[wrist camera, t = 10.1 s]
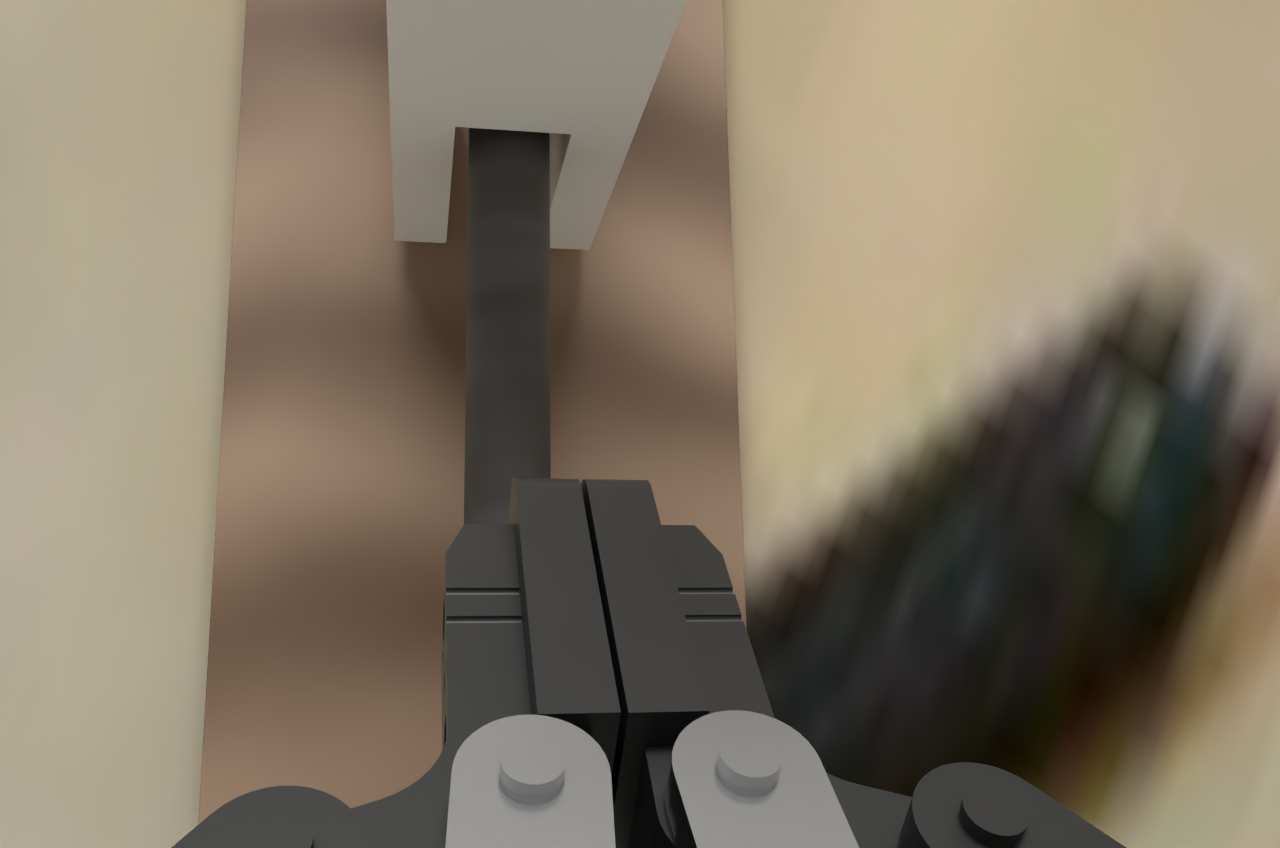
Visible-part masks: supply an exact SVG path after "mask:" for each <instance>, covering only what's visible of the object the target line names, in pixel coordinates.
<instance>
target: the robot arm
mask: <svg viewBox="0 0 1280 848" xmlns="http://www.w3.org/2000/svg"><path fill="white" fill-rule="evenodd" d="M741 615H742V614H741V611H740V608H739V605H738V602H737V599H736V595H735V594H733V586H732V583H731V580H730V577H729V574H728V570H727V567H726V564H725V561H724V558H723V555H722V553H721V552H720V551H719V550H718V549H717V548H716V547H715V546H714V545H713V544H712V543H711V542H710V541H709V540H708V539H707V538H706V536H705V535H704V534H703V533H702V532H701V531H700V530H699V529H698V528H697V527H696V526H695V525H661V522H660V518H659V514H658V510H657V507H656V503H655V499H654V495H653V491H652V488H651V484H650V482H649V481H648V480H611V479H583V480H582V482H581V484H580V481H579V479H556V478H513V479H512V484H511V491H510V504H509V518H508V524H495V523H465V524H464V525H463V527H462V529H461V530H460V532H459V533H458V535H457V536H456V538H455V539H454V541H453V543H452V544H451V546H450V547H449V549H448V550H447V552H446V555H445V581H444V606H443V631H442V656H441V671H442V752H441V754H440V756H439V758H438V759H437V761H436V762H435V763H434V765H433V766H432V767H431V769H430V770H429V771H427V772H426V773H425V774H424V775H423V776H422V777H421V778H420V779H419V780H417V781H416V782H414V783H413V784H412V785H410V786H409V787H407V788H405V789H403V790H401V791H399V792H397V793H396V794H393V795H390V796H388V797H385V798H382V799H380V800H376V801H373V802H370V803H367V804H364V805H360V806H357V807H354V808H351V809H350V808H349V807H348V806H347V805H346V804H345V803H343V802H342V801H341V800H339V799H338V798H336V797H334V796H332V795H330V794H328V793H326V792H324V791H320V790H317V789H314V788H309V787H303V786H275V787H267V788H263V789H259V790H255V791H251V792H249V793H246V794H244V795H241V796H239V797H236V798H235V799H233V800H231V801H229V802H227V803H226V804H224V805H222V806H221V807H220V808H218V809H217V810H216V811H214V812H213V813H212V814H211V815H209V816H208V817H207V818H206V819H205V820H203V821H202V822H201V823H200V824H199V825H198V826H196V827H195V828H194V829H193V830H192V831H191V832H189V833H188V834H187V835H186V836H185V837H183V838H182V839H181V840H180V841H179V842H178V843H176V844H175V845H174V846H173V847H172V848H1126V847H1124V846H1123V845H1121V844H1120V843H1118V842H1117V841H1115V840H1114V839H1112V838H1111V837H1109V836H1108V835H1106V834H1105V833H1103V832H1102V831H1100V830H1099V829H1097V828H1096V827H1094V826H1093V825H1091V824H1090V823H1088V822H1087V821H1085V820H1084V819H1082V818H1081V817H1079V816H1078V815H1076V814H1075V813H1073V812H1072V811H1070V810H1069V809H1067V808H1066V807H1064V806H1063V805H1061V804H1060V803H1058V802H1057V801H1055V800H1054V799H1052V798H1051V797H1049V796H1048V795H1046V794H1045V793H1043V792H1042V791H1040V790H1039V789H1037V788H1036V787H1034V786H1033V785H1031V784H1030V783H1028V782H1026V781H1025V780H1023V779H1021V778H1019V777H1018V776H1016V775H1014V774H1012V773H1009V772H1007V771H1005V770H1002V769H999V768H996V767H993V766H990V765H984V764H979V763H968V762H962V763H951V764H947V765H943V766H940V767H938V768H936V769H933V770H932V771H930V772H929V773H928V774H926V775H925V776H924V777H923V778H922V779H921V780H920V782H919V783H918V784H917V787H916V789H915V791H914V793H913V796H912V797H909V796H905V795H901V794H896V793H892V792H888V791H884V790H880V789H875V788H871V787H867V786H863V785H859V784H855V783H852V782H848V781H845V780H842V779H839V778H837V777H835V776H832V775H830V774H828V773H826V772H825V769H824V767H823V765H822V762H821V760H820V758H819V757H818V755H817V753H816V751H815V750H814V748H813V747H812V746H811V745H810V743H809V742H808V741H807V740H806V739H805V738H804V737H803V736H802V735H801V734H800V733H799V732H797V731H796V730H794V729H793V728H791V727H790V726H789V725H787V724H785V723H783V722H781V721H779V720H777V719H775V718H774V715H773V712H772V709H771V705H770V702H769V699H768V696H767V693H766V690H765V687H764V683H763V680H762V677H761V674H760V671H759V668H758V665H757V661H756V658H755V655H754V652H753V649H752V646H751V643H750V639H749V636H748V633H747V630H746V627H745V624H744V621H742V620H741Z"/></svg>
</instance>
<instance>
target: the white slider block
mask: <svg viewBox="0 0 1280 848" xmlns="http://www.w3.org/2000/svg"><path fill="white" fill-rule="evenodd" d="M686 1H687V0H386V10H387V40H388V70H389V100H390V130H391V159H392V189H393V219H394V241H411V242H432V243H446V240H447V227H448V214H449V201H450V188H451V175H452V162H453V149H454V137H455V127H466V128H481V129H497V130H512V131H528V132H543V133H550V248H558V249H578V250H590V247H591V245H592V242H593V240H594V237H595V234H596V232H597V229H598V227H599V224H600V222H601V219H602V216H603V214H604V211H605V209H606V206H607V204H608V201H609V199H610V196H611V193H612V191H613V188H614V186H615V183H616V181H617V178H618V175H619V173H620V170H621V168H622V165H623V163H624V160H625V157H626V155H627V152H628V150H629V147H630V145H631V142H632V140H633V137H634V134H635V132H636V129H637V127H638V124H639V122H640V119H641V116H642V114H643V111H644V109H645V106H646V104H647V101H648V99H649V96H650V93H651V91H652V88H653V86H654V83H655V81H656V78H657V75H658V73H659V70H660V68H661V65H662V63H663V60H664V58H665V55H666V52H667V50H668V47H669V45H670V42H671V40H672V37H673V34H674V32H675V29H676V27H677V24H678V22H679V19H680V16H681V14H682V11H683V9H684V6H685V4H686Z"/></svg>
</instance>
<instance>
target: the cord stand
mask: <svg viewBox="0 0 1280 848" xmlns="http://www.w3.org/2000/svg"><path fill="white" fill-rule="evenodd" d="M513 478H556V479H579V481H580V484H581V482H582V480H583V479H611V480H648V481H649V482H650V484H651V488H652V491H653V495H654V499H655V503H656V507H657V510H658V514H659V518H660V522H661V525H695V526H696V527H697V528H698V529H699V530H700V531H701V532H702V533H703V534H704V535H705V536H706V538H707V539H708V540H709V541H710V542H711V543H712V544H713V545H714V546H715V547H716V548H717V549H718V550H719V551H720V552H721V553H722V555H723V558H724V561H725V564H726V567H727V570H728V574H729V577H730V580H731V583H732V586H733V594H735V595H736V599H737V602H738V605H739V608H740V611H741V614H742V615H741V620H742V621H744V624H745V627H746V605H745V579H744V553H743V527H742V501H741V475H740V449H739V423H738V397H737V371H736V345H735V319H734V293H733V267H732V241H731V215H730V189H729V163H728V137H727V110H726V84H725V58H724V32H723V6H722V0H687V1H686V4H685V6H684V9H683V11H682V14H681V16H680V19H679V22H678V24H677V27H676V29H675V32H674V34H673V37H672V40H671V42H670V45H669V47H668V50H667V52H666V55H665V58H664V60H663V63H662V65H661V68H660V70H659V73H658V75H657V78H656V81H655V83H654V86H653V88H652V91H651V93H650V96H649V99H648V101H647V104H646V106H645V109H644V111H643V114H642V116H641V119H640V122H639V124H638V127H637V129H636V132H635V134H634V137H633V140H632V142H631V145H630V147H629V150H628V152H627V155H626V157H625V160H624V163H623V165H622V168H621V170H620V173H619V175H618V178H617V181H616V183H615V186H614V188H613V191H612V193H611V196H610V199H609V201H608V204H607V206H606V209H605V211H604V214H603V216H602V219H601V222H600V224H599V227H598V229H597V232H596V234H595V237H594V240H593V242H592V245H591V247H590V250H578V249H558V248H550V133H543V132H528V131H512V130H497V129H481V128H466V127H455V137H454V149H453V162H452V175H451V188H450V201H449V214H448V227H447V240H446V243H432V242H411V241H394V219H393V189H392V159H391V130H390V100H389V70H388V40H387V10H386V0H247V4H246V21H245V38H244V55H243V72H242V89H241V106H240V123H239V140H238V157H237V174H236V191H235V208H234V225H233V242H232V259H231V277H230V294H229V311H228V328H227V345H226V362H225V379H224V396H223V413H222V430H221V447H220V464H219V481H218V498H217V515H216V532H215V549H214V566H213V583H212V600H211V618H210V635H209V652H208V669H207V686H206V703H205V720H204V737H203V754H202V771H201V788H200V805H199V822H198V825H199V824H200V823H201V822H202V821H203V820H205V819H206V818H207V817H208V816H209V815H211V814H212V813H213V812H214V811H216V810H217V809H218V808H220V807H221V806H222V805H224V804H226V803H227V802H229V801H231V800H233V799H235V798H236V797H239V796H241V795H244V794H246V793H249V792H251V791H255V790H259V789H263V788H267V787H275V786H303V787H309V788H314V789H317V790H320V791H324V792H326V793H328V794H330V795H332V796H334V797H336V798H338V799H339V800H341V801H342V802H343V803H345V804H346V805H347V806H348V807H349V808H350V809H351V808H354V807H357V806H360V805H364V804H367V803H370V802H373V801H376V800H380V799H382V798H385V797H388V796H390V795H393V794H396V793H397V792H399V791H401V790H403V789H405V788H407V787H409V786H410V785H412V784H413V783H414V782H416V781H417V780H419V779H420V778H421V777H422V776H423V775H424V774H425V773H426V772H427V771H429V770H430V769H431V767H432V766H433V765H434V763H435V762H436V761H437V759H438V758H439V756H440V754H441V752H442V671H441V656H442V631H443V606H444V581H445V555H446V552H447V550H448V549H449V547H450V546H451V544H452V543H453V541H454V539H455V538H456V536H457V535H458V533H459V532H460V530H461V529H462V527H463V525H464V524H465V523H495V524H508V518H509V504H510V491H511V484H512V479H513Z"/></svg>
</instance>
